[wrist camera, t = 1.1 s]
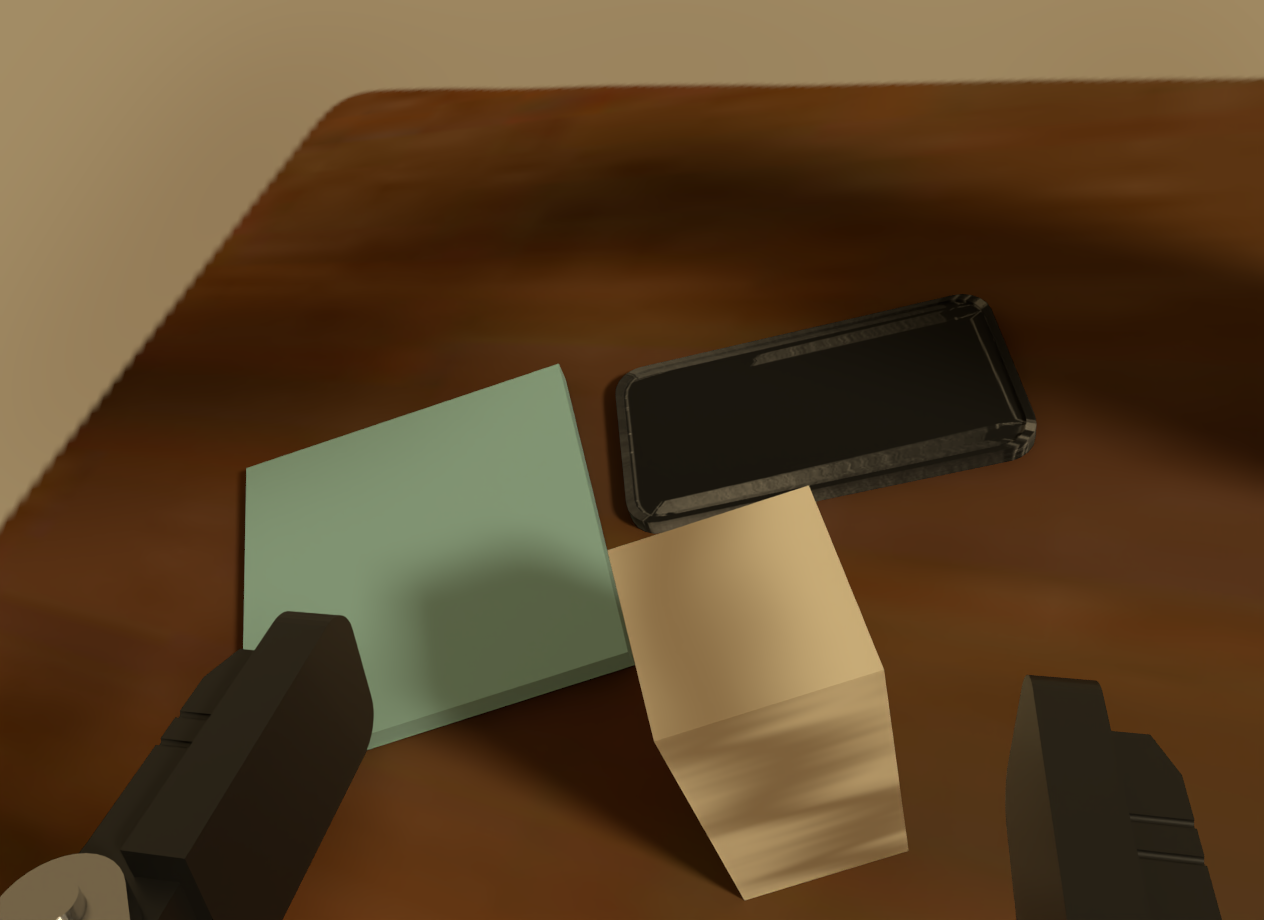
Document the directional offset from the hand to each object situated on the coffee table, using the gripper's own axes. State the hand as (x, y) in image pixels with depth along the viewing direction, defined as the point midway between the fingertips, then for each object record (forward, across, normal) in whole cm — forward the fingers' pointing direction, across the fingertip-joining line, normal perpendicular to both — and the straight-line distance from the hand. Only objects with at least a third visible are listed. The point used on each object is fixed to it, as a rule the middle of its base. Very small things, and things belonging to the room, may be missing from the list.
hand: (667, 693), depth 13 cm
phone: (+28, -1, +13) cm, 31 cm away
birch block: (+13, -1, +18) cm, 22 cm away
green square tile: (+22, +14, +17) cm, 31 cm away
